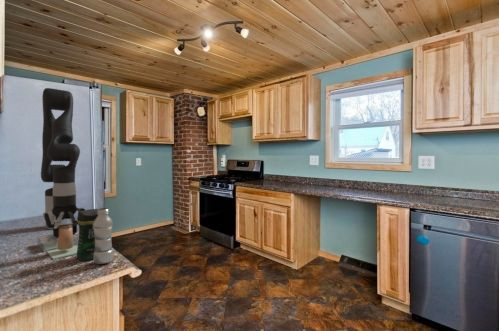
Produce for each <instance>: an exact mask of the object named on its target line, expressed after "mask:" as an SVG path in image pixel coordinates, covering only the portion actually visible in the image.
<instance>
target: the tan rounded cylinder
mask: <svg viewBox="0 0 499 331" xmlns="http://www.w3.org/2000/svg"><path fill="white" fill-rule="evenodd" d="M72 247H73V224H72V223H67V224H63V225H59V226H58V250H67V249H70V248H72Z"/></svg>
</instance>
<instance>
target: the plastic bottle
mask: <svg viewBox="0 0 499 331" xmlns="http://www.w3.org/2000/svg"><path fill="white" fill-rule="evenodd" d="M96 209H97V215H98V216H97V217H96V219H95V220H94V222H93V230H94V237H95V248H94V254H93V259H92V260H93V262H94V263H95V264H97V265H103V264H104V265H105V264H108V263H111V262H112V261H113V259H114V250H113V243H112V233H113V225H114V223H113V222H114V221H113V219H112V218H111V217H110V216H109V214H110V212H109V211H110V210H109V208H108V207H100V208H96Z"/></svg>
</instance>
